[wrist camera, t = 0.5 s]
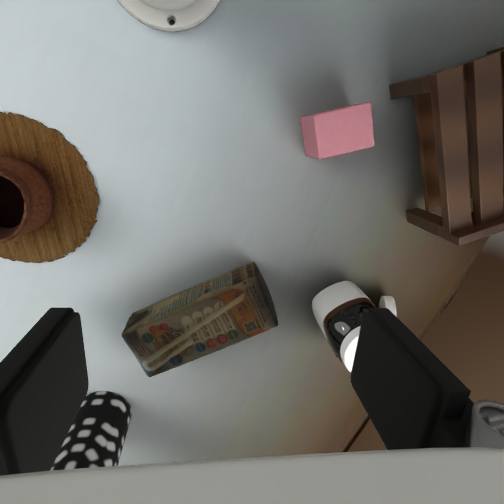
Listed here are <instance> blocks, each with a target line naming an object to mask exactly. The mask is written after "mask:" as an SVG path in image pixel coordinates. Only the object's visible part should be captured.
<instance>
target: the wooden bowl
mask: <svg viewBox="0 0 504 504" xmlns="http://www.w3.org/2000/svg"><path fill="white" fill-rule="evenodd" d="M86 163H87V162H86V161H84V160H83V158H82V156H81V155H80V154H79V153H78V151H77V149H76V148H75V146H73V145H71V144H70V143H69V142H68V141H66V140H65V139H64V138H63V136H62V134H61V133H60V132H58V131H57V130H55V129H49V128H46V127H45V126H44V125H43V124H41V123H39V122H37V121H35V120H33V119H29V118H24V116H23V115H18V114H13V113H8V114H7V113H5V112H4V113H3V112H0V257H2V258H4V259H10V260H12V261H16V260H18V261H22V262H34V263H42V262H44V261H48V262H51V261H54V260H55V259H59V258H63V257H65V256H64V255H68V254H67V253H69V252H74V251H75V247H76V248H77V247H80V246H81V243H84V242H85V241H86V237H89V235H90V230H91V229H92V227H93V225H94V224H95V223H96V222H97V220H95V219H96V212H97V210H98V208H97V207H98V205H99V198H98V194H97V189H96V187H95V186H94V182H93V176H92V174H91V173H90V172H89V171H88V169H87V168H86Z"/></svg>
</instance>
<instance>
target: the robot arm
mask: <svg viewBox="0 0 504 504" xmlns="http://www.w3.org/2000/svg"><path fill="white" fill-rule="evenodd" d="M118 1H119V3H120V4H121V5H122V6H123V7H124V8H125V9H126V10H127V11H128V12H129V13H130V14H131V15H132V16H133V17H135V18H136V19H137V20H139V21H140V22H141V23H143V24H145V25H148V26H150V27H152V28H154V29H158V30H162V31H175V32H176V31H182V30H187V29H189V28H192V27H194V26H196V25H198V24H200V23H201V22H202V21H204V20H205V19H206V18H207V17H208V16H209V15H210V14H211V13H212V12H213V11H214V10H215V8H216V6H217V5H218V3H219V1H220V0H118ZM171 20H174V21H175V23H174V24H173V25H171V24H170V21H171ZM351 383H352V386H353V388H354V390H355V392H356V393H357V395H358V397H359V399H360V401H361V402H362V404H363V406H364V408H365V410H366V411H367V413H368V415H369V417H370V419H371V420H372V422H373V424H374V426H375V428H376V429H377V431H378V433H379V435H380V437H381V438H382V440H383V442H384V444H385V446H386V448H387V449H388V450H381V451H380V450H379V451H362V452H341V453H323V454H304V455H287V456H270V457H253V458H236V459H219V460H203V461H187V462H172V463H156V464H141V465H126V466H110V467H95V468H81V469H67V470H53V471H50V470H51V468H52V466H53V464H54V462H55V459H56V457H57V455H58V453H59V451H60V449H61V447H62V445H63V443H64V441H65V438H66V436H67V434H68V432H69V430H70V428H71V426H72V424H73V422H74V420H75V417H76V415H77V413H78V411H79V409H80V407H81V405H82V403H83V401H84V399H85V396H86V394H87V391H88V375H87V367H86V359H85V351H84V343H83V335H82V327H81V319H80V315H79V313H78V312H74V310H73V309H72V308H50V309H49V310H48V311H47V312H46V313H45V314H44V315H43V317H42V318H41V319H40V320H39V321H38V322H37V323H36V324H35V325H34V326H33V328H32V329H31V330H30V331H29V332H28V333H27V334H26V335H25V336H24V337H23V339H22V340H21V341H20V342H19V343H18V344H17V345H16V346H15V347H14V348H13V349H12V351H11V352H10V353H9V354H8V355H7V356H6V357H5V358H4V359H3V360H2V362H1V363H0V504H504V404H502V403H499V402H496V401H490V400H479V401H477V402H475V403H473V402H472V401H471V400H470V399H469V395H470V392H471V391H470V390H469V389H468V388H467V387H466V386H465V385H464V384H463V383H462V382H461V381H460V380H459V379H458V378H457V377H455V375H454V374H453V373H452V372H451V371H450V370H449V369H448V368H447V367H446V366H445V365H444V364H443V363H442V362H441V361H440V360H439V359H438V358H437V357H436V356H435V355H434V354H433V353H432V352H431V351H430V350H429V349H428V348H427V347H426V346H425V345H424V344H423V343H422V342H421V341H420V340H419V339H418V338H417V337H416V336H415V335H414V334H413V333H412V332H411V331H410V330H409V329H408V328H407V327H406V326H405V325H404V324H403V323H402V322H401V321H400V320H399V319H398V318H397V317H396V316H395V315H394V314H393V313H392V312H391V311H390V310H389V309H388V308H370V309H369V310H368V312H365V313H364V314H363V318H362V323H361V327H360V332H359V337H358V342H357V347H356V352H355V357H354V362H353V367H352V371H351Z"/></svg>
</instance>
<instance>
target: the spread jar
mask: <svg viewBox="0 0 504 504" xmlns="http://www.w3.org/2000/svg"><path fill="white" fill-rule="evenodd" d="M370 308H376V306H375V305H374V304H373V303H372V301H371V300H370V299H369V298H368V297H367V296H366V295H365V294H364V293H363V291H362V290H361V289H360V288H359V287H358V286H357V285H356V284H355V283H353V282H351V281H341V282H337V283H334V284H332V285H329V286H327V287H326V288H324V289H323V290H321V291H320V292H319V293H318V294H317V295H316V296H315V297H314V299H313V301H312V309H313V313H314V316H315V318H316V320H317V322H318V324H319V326H320V328H321V330H322V332H323V333H324V335H325V337H326V339H327V341H328V343H329V344H330V346H331V348H332V350H333V351H334V353H335V355H336V356H337V357H338V358H339V360H340V361H341V362H342V363H343V364H344V365H345V366H346V368H347V369H348V371H350V372H351V371H352V367H353V362H354V357H355V352H356V347H357V342H358V337H359V332H360V327H361V323H362V318H363V314H364V313H365V312H368V310H369V309H370ZM378 308H388V309H389V310H390V311H391V312H392V313H393V314H394V315H395V316H396V317H397V314H396V305H395V300H394V298H393V297H392V296H381V298H380V301H379V307H378Z"/></svg>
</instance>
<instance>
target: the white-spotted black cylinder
mask: <svg viewBox="0 0 504 504" xmlns="http://www.w3.org/2000/svg"><path fill="white" fill-rule="evenodd" d="M131 416H132V410H131V406H130V404H129V403H128V401H127V400H126V399H124V398H123V397H122V396H120V395H118V394H115V393H112V392H106V391H100V392H94V393H91V394H89V395H86V396H85V399H84V401H83V403H82V405H81V407H80V409H79V411H78V413H77V415H76V417H75V420H74V422H73V424H72V426H71V428H70V430H69V432H68V434H67V436H66V438H65V441H64V443H63V445H62V447H61V449H60V451H59V453H58V455H57V457H56V459H55V462H54V464H53V466H52V468H51V470H50V471H53V470H67V469H81V468H95V467H110V466H118V462H119V459H120V455H121V451H122V448H123V444H124V441H125V437H126V433H127V430H128V426H129V423H130V419H131Z"/></svg>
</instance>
